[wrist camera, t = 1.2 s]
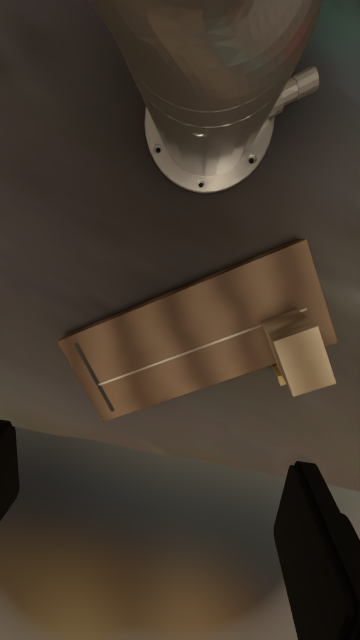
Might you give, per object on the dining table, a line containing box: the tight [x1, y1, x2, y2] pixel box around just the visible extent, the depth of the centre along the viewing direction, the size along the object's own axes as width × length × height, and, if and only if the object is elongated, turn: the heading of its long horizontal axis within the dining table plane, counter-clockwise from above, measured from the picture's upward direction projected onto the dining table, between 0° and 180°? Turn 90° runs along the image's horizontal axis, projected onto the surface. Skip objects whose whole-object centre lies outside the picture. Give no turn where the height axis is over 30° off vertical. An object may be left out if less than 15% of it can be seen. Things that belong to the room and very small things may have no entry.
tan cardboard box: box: [261, 309, 336, 397], centre depth 31 cm, size 5×7×8 cm
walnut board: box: [57, 239, 338, 422], centre depth 35 cm, size 30×12×3 cm, turn 113°
